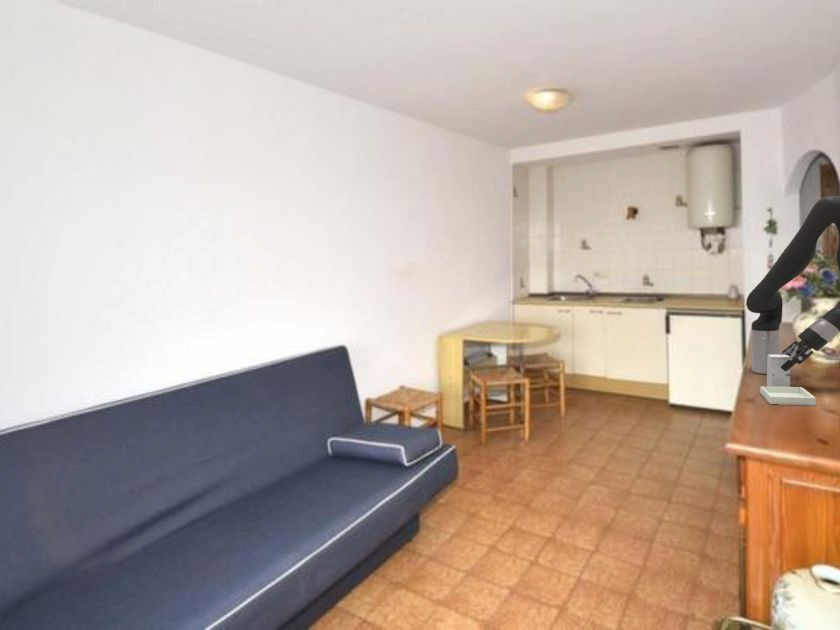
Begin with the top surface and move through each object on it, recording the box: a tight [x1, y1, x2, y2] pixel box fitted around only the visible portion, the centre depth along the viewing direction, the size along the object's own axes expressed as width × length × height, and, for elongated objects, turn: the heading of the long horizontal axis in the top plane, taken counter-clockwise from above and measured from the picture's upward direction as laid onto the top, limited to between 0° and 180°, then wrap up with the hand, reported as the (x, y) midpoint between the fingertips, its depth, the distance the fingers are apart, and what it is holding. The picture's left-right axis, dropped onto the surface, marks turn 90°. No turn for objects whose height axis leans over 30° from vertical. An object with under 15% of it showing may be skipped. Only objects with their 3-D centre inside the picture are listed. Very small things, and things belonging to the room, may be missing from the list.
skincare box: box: [766, 354, 791, 387], centre depth 183 cm, size 6×4×12 cm
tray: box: [759, 385, 817, 407], centre depth 171 cm, size 14×12×2 cm
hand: (779, 367), depth 182 cm, fingers open, 8 cm apart
